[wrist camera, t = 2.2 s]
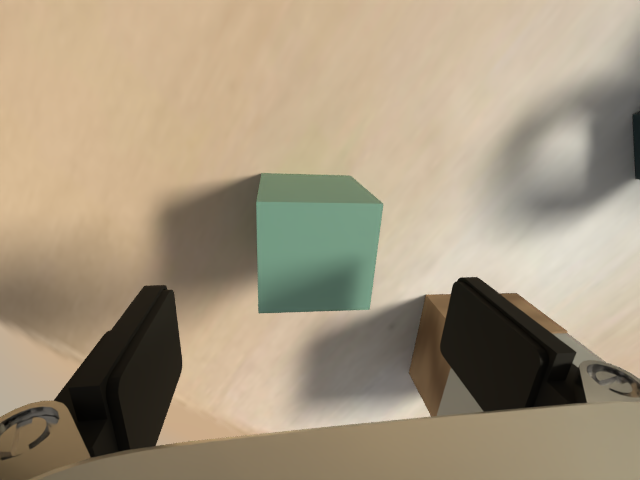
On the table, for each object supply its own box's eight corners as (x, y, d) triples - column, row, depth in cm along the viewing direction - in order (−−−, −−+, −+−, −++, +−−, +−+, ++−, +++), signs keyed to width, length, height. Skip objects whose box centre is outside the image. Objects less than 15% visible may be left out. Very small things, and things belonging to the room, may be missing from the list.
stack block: (261, 173, 18) (256, 201, 12) (350, 175, 18) (383, 203, 13) (262, 255, 19) (258, 313, 14) (343, 255, 20) (369, 309, 15)
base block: (424, 293, 22) (459, 335, 18) (515, 292, 23) (567, 331, 19) (408, 371, 25) (435, 424, 21) (490, 367, 26) (531, 416, 22)
